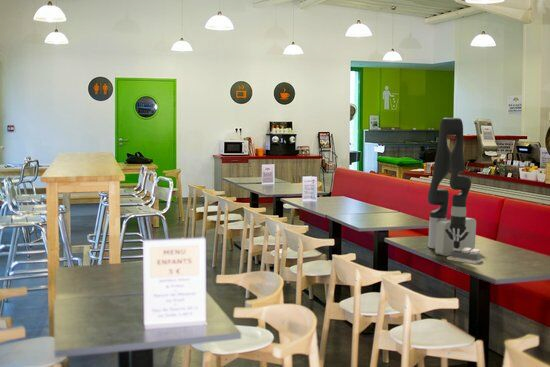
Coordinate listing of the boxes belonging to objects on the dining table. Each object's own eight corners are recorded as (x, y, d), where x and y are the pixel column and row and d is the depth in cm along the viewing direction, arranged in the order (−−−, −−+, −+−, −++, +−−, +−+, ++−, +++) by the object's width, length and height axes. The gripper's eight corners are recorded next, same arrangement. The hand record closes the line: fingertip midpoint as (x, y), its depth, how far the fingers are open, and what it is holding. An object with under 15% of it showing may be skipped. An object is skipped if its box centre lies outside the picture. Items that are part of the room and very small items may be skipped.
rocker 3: (473, 250, 346) (473, 248, 346) (479, 251, 344) (479, 249, 344) (470, 253, 342) (470, 251, 342) (476, 254, 340) (476, 252, 340)
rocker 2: (465, 249, 349) (465, 247, 348) (471, 250, 347) (471, 247, 346) (461, 252, 345) (461, 250, 345) (467, 253, 343) (467, 251, 343)
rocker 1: (456, 248, 351) (457, 246, 351) (462, 249, 349) (463, 247, 349) (453, 249, 347) (453, 247, 347) (459, 250, 345) (459, 248, 345)
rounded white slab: (462, 248, 377) (464, 216, 375) (474, 250, 371) (476, 218, 369) (431, 253, 359) (432, 220, 357) (442, 256, 353) (444, 222, 351)
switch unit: (454, 256, 353) (455, 249, 353) (482, 260, 344) (483, 254, 344) (446, 259, 346) (447, 252, 345) (475, 264, 337) (475, 257, 336)
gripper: (473, 215, 344) (471, 249, 345) (449, 213, 352) (447, 245, 353) (468, 217, 338) (466, 251, 339) (443, 214, 346) (441, 247, 347)
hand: (456, 248), depth 346 cm, fingers closed
